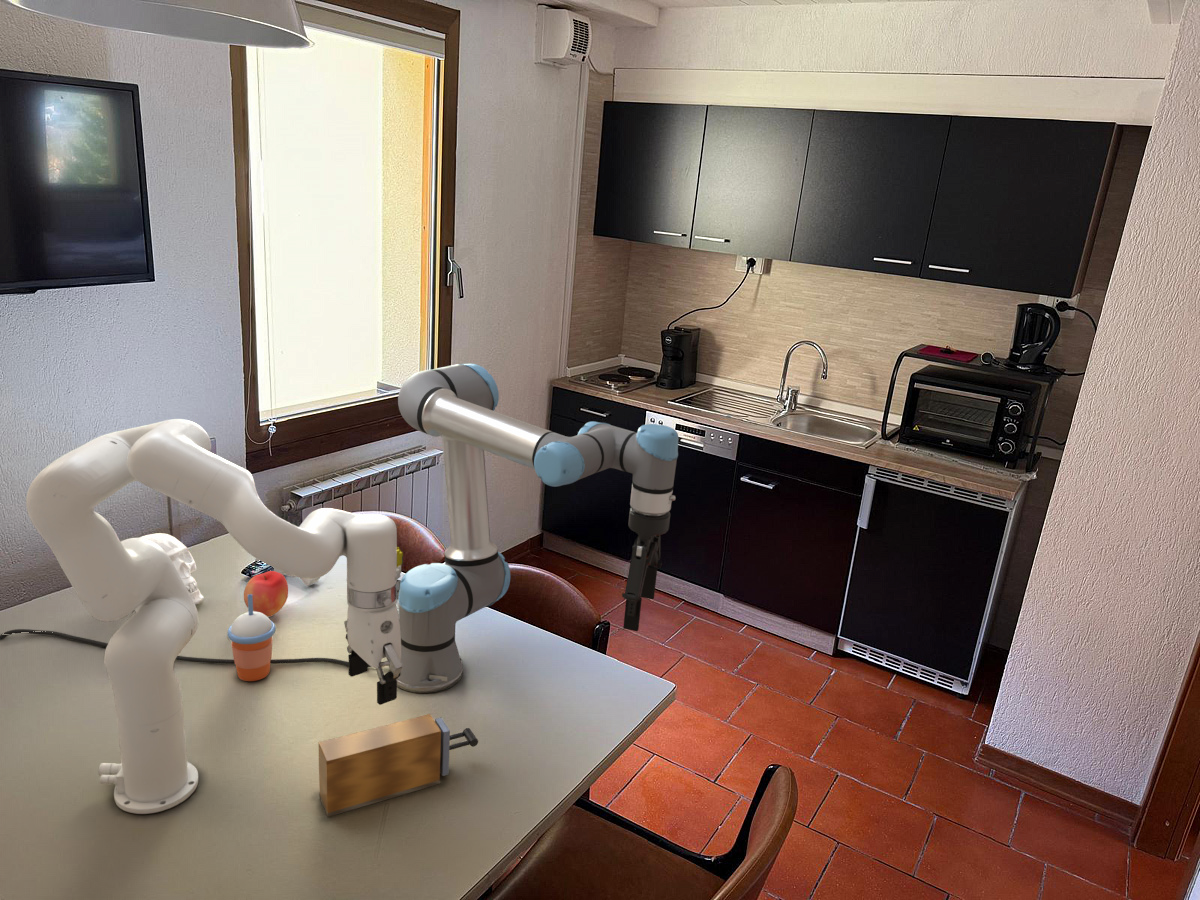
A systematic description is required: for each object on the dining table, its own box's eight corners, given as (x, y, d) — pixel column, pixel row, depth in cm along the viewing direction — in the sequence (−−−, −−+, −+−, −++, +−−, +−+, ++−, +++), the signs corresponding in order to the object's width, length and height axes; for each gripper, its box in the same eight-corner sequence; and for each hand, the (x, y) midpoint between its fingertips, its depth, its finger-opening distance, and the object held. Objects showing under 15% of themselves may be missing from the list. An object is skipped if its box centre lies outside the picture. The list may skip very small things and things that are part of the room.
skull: (182, 619, 195) (179, 555, 191) (104, 600, 201) (100, 537, 197) (222, 597, 208) (220, 536, 203) (148, 579, 213) (145, 520, 209)
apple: (273, 600, 207) (272, 562, 204) (297, 613, 202) (296, 575, 199) (237, 614, 200) (234, 575, 197) (261, 628, 194) (259, 588, 191)
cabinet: (428, 765, 155) (430, 713, 151) (439, 783, 150) (441, 731, 147) (319, 796, 145) (318, 741, 142) (327, 817, 140) (326, 761, 137)
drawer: (469, 752, 158) (470, 709, 155) (478, 765, 154) (480, 722, 151) (337, 789, 145) (337, 743, 143) (344, 805, 142) (343, 758, 139)
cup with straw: (261, 689, 172) (257, 609, 167) (220, 681, 174) (215, 601, 168) (285, 666, 181) (283, 589, 175) (246, 658, 182) (243, 582, 177)
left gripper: (421, 608, 131) (419, 704, 136) (367, 566, 143) (368, 657, 148) (376, 621, 126) (376, 721, 131) (325, 577, 138) (327, 670, 143)
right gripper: (656, 537, 144) (643, 648, 150) (682, 491, 167) (671, 589, 173) (613, 529, 146) (602, 639, 152) (645, 484, 169) (635, 581, 175)
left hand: (372, 687), depth 139 cm, fingers open, 9 cm apart
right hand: (639, 612), depth 163 cm, fingers open, 13 cm apart
